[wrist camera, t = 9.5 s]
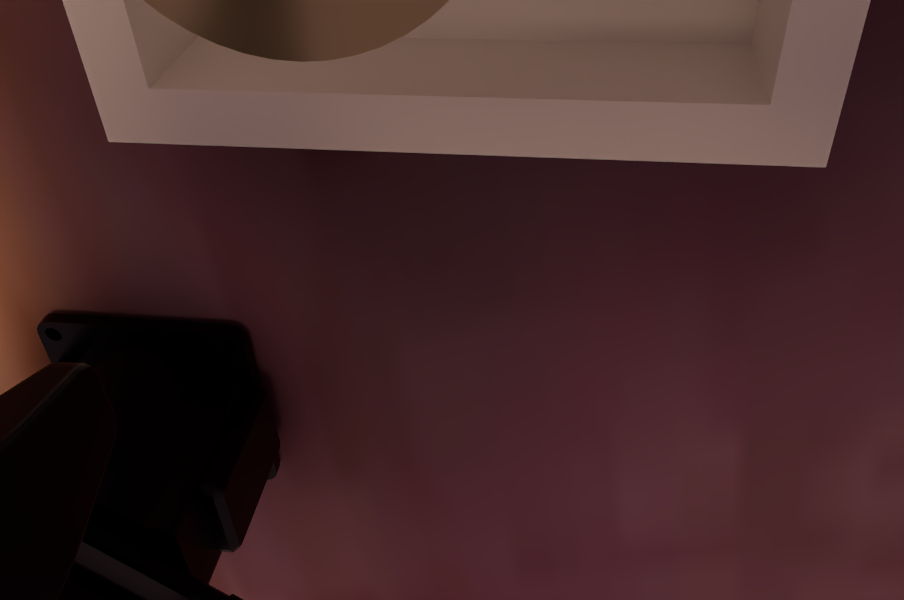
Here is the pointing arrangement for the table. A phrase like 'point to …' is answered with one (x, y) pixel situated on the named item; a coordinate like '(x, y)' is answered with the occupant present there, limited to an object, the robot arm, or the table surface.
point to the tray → (499, 82)
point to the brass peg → (299, 24)
